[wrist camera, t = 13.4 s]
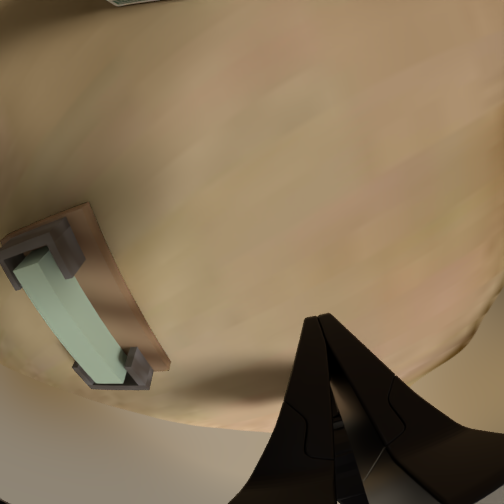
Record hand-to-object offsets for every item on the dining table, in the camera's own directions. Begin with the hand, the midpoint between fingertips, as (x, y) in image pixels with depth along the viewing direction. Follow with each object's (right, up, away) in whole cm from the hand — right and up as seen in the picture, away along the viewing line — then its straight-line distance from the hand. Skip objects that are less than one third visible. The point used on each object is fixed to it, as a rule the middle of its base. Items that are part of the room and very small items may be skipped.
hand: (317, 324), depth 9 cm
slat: (-18, -3, +14) cm, 23 cm away
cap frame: (-18, -3, +15) cm, 23 cm away
